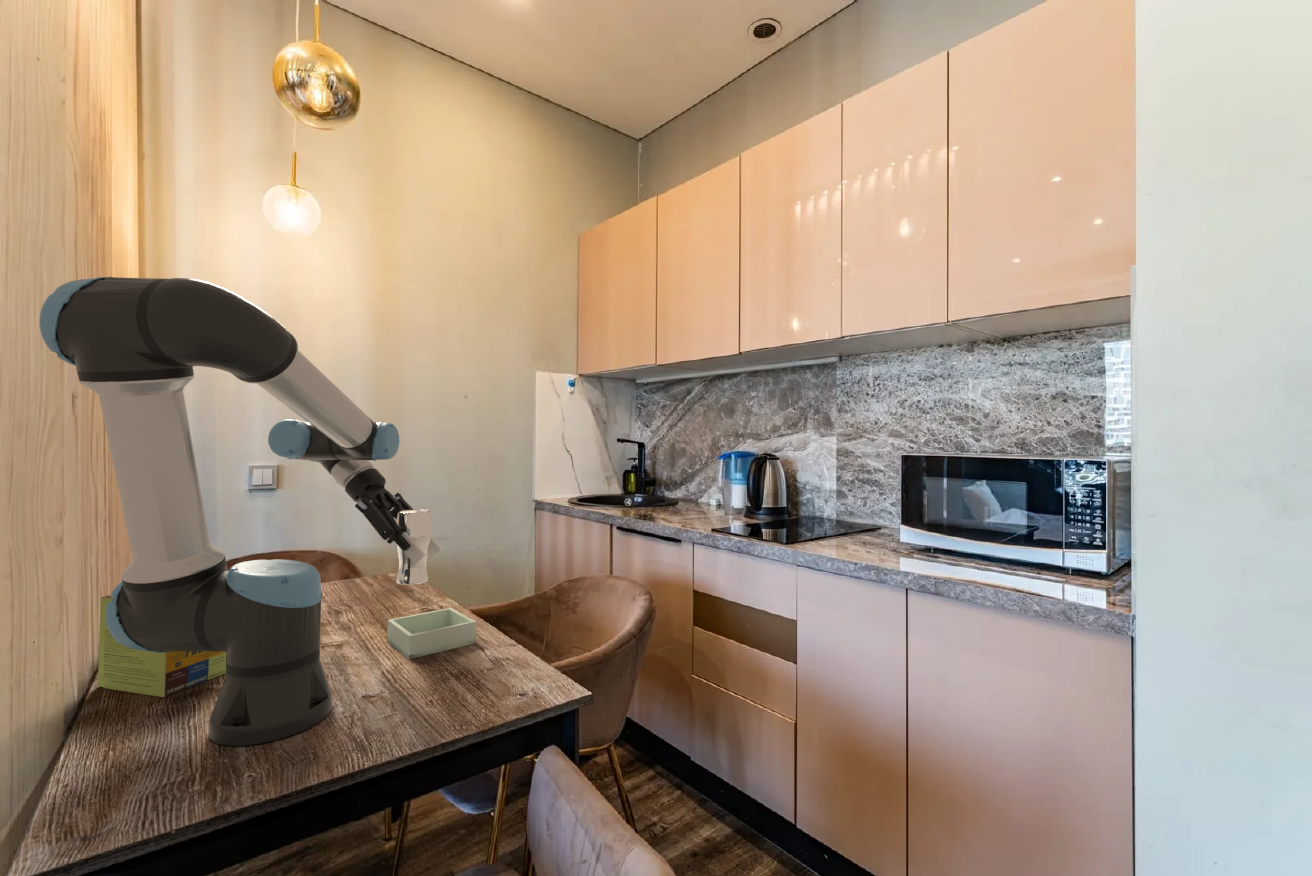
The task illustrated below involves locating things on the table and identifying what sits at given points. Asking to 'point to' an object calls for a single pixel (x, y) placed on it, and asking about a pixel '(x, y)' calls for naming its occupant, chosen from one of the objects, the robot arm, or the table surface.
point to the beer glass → (420, 533)
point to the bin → (431, 632)
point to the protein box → (152, 665)
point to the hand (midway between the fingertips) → (429, 556)
